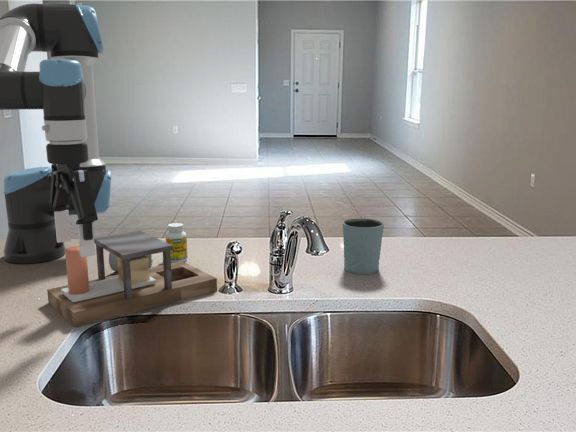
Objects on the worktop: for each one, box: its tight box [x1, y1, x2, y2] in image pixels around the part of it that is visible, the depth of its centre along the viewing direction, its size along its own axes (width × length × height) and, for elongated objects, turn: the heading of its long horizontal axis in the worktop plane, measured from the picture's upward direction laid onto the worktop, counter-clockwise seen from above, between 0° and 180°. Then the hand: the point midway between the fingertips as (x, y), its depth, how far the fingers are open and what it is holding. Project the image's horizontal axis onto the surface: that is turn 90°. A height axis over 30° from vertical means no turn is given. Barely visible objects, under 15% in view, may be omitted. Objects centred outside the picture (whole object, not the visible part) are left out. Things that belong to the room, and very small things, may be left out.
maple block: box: [117, 256, 150, 284], centre depth 128 cm, size 5×5×5 cm
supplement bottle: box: [165, 222, 188, 263], centre depth 154 cm, size 5×5×10 cm
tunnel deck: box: [46, 230, 218, 328], centre depth 128 cm, size 16×32×12 cm, turn 129°
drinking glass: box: [342, 217, 385, 275], centre depth 147 cm, size 10×10×12 cm
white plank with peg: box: [61, 245, 156, 302], centre depth 124 cm, size 7×18×10 cm, turn 129°
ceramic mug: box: [108, 251, 154, 272], centre depth 146 cm, size 11×8×8 cm
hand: (75, 248), depth 119 cm, fingers open, 13 cm apart
